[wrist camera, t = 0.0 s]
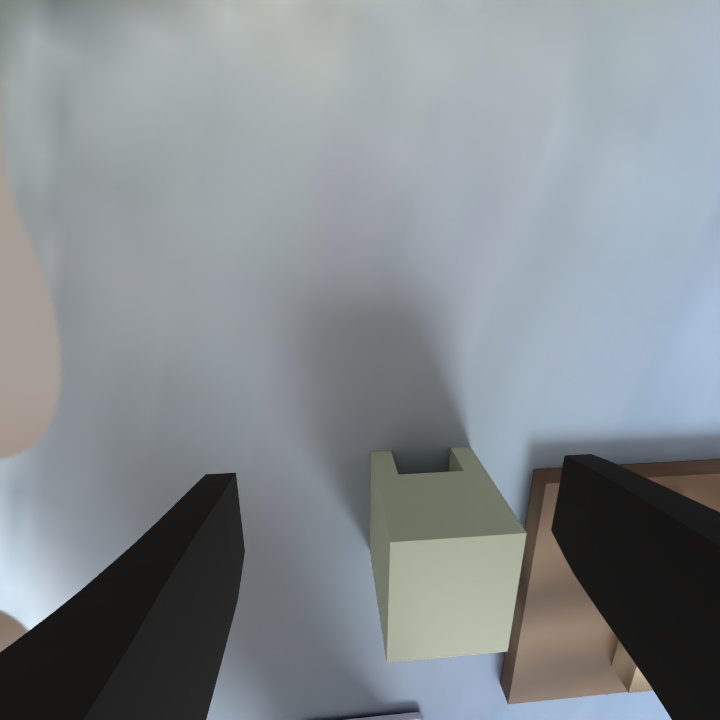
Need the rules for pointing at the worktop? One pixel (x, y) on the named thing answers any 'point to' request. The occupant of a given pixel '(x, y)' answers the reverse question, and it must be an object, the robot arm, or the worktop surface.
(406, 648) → the saddle block
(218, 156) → the worktop surface
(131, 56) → the worktop surface
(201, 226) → the worktop surface
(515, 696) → the cleat board
